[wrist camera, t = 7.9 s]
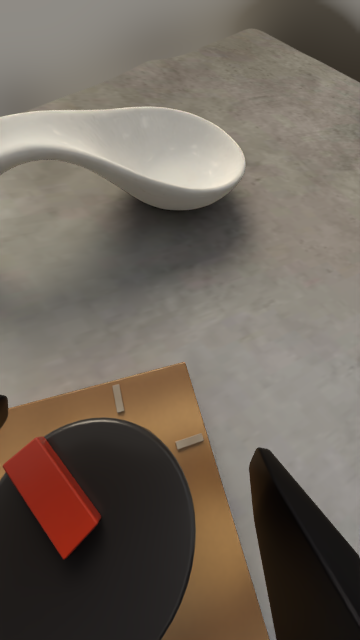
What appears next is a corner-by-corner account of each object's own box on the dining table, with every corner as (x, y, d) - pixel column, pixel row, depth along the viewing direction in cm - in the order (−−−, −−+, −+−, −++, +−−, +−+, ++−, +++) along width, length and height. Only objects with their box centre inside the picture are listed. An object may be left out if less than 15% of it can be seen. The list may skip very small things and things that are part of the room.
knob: (177, 461, 12) (246, 539, 4) (125, 520, 11) (41, 847, 2) (134, 410, 13) (106, 374, 4) (81, 461, 11) (-104, 550, 3)
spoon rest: (186, 136, 27) (199, 42, 20) (257, 205, 24) (298, 121, 17) (-54, 210, 19) (-156, 99, 13) (3, 326, 16) (-96, 258, 10)
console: (249, 605, 12) (274, 650, 10) (27, 722, 10) (-12, 818, 7) (180, 370, 16) (185, 360, 14) (15, 415, 14) (-12, 412, 12)
